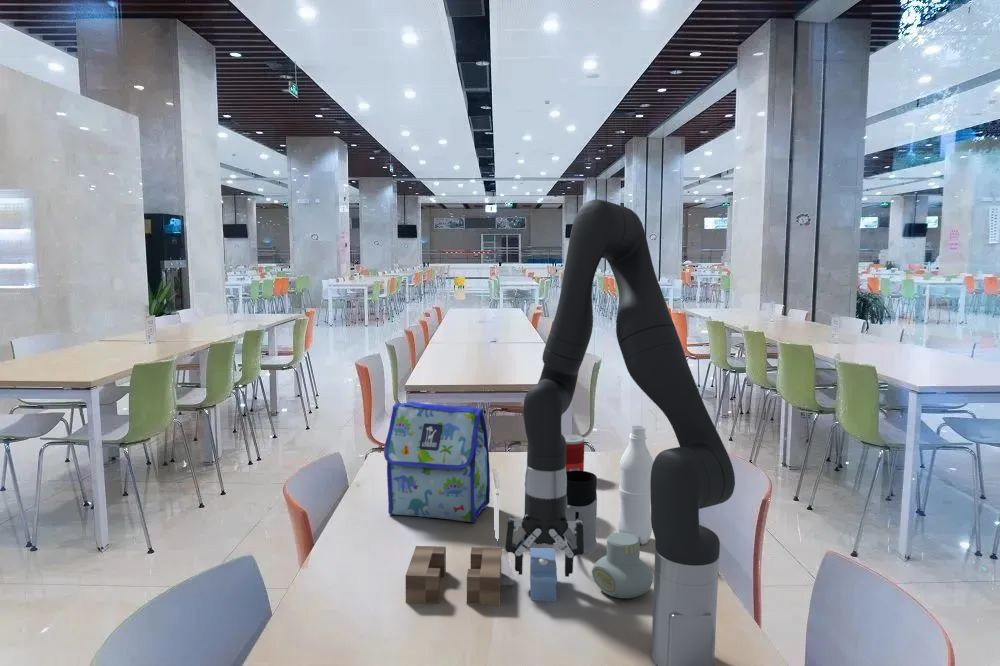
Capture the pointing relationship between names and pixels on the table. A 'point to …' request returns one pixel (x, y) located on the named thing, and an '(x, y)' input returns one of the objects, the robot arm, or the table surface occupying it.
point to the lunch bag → (437, 461)
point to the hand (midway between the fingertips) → (543, 573)
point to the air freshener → (622, 568)
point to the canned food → (574, 452)
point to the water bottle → (636, 487)
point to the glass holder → (582, 507)
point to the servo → (543, 574)
